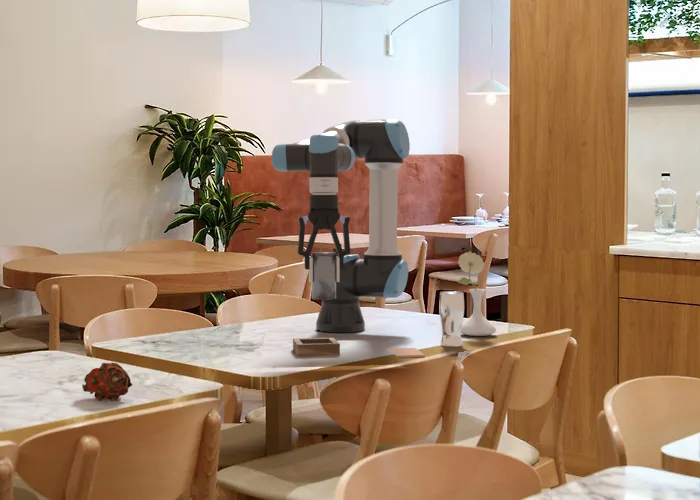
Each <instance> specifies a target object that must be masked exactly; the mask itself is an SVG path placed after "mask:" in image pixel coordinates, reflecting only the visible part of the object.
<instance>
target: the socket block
mask: <svg viewBox="0 0 700 500" xmlns="http://www.w3.org/2000/svg"><path fill="white" fill-rule="evenodd" d="M340 344H341V343H340V342H339V341H337V340H336V339H335V338H334V337H308V338H307V337H306V338H305V337H304V338H302V337H301V338H292V351H293V352H294V354H295V355H296V356H297V357H329V356H333V357H335V356H340V355H341V354H340V353H341V352H340V351H341V345H340Z"/></svg>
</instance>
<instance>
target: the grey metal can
mask: <svg viewBox="0 0 700 500" xmlns="http://www.w3.org/2000/svg"><path fill="white" fill-rule="evenodd" d="M336 256H337V252H333V251H330V252H329V251H322V252H321V251H319V252H318V251H317V252H311V257H312V258H313V282H311V299H312V300H317V301H318V300H320V301H322V300H332V299H336Z"/></svg>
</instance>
